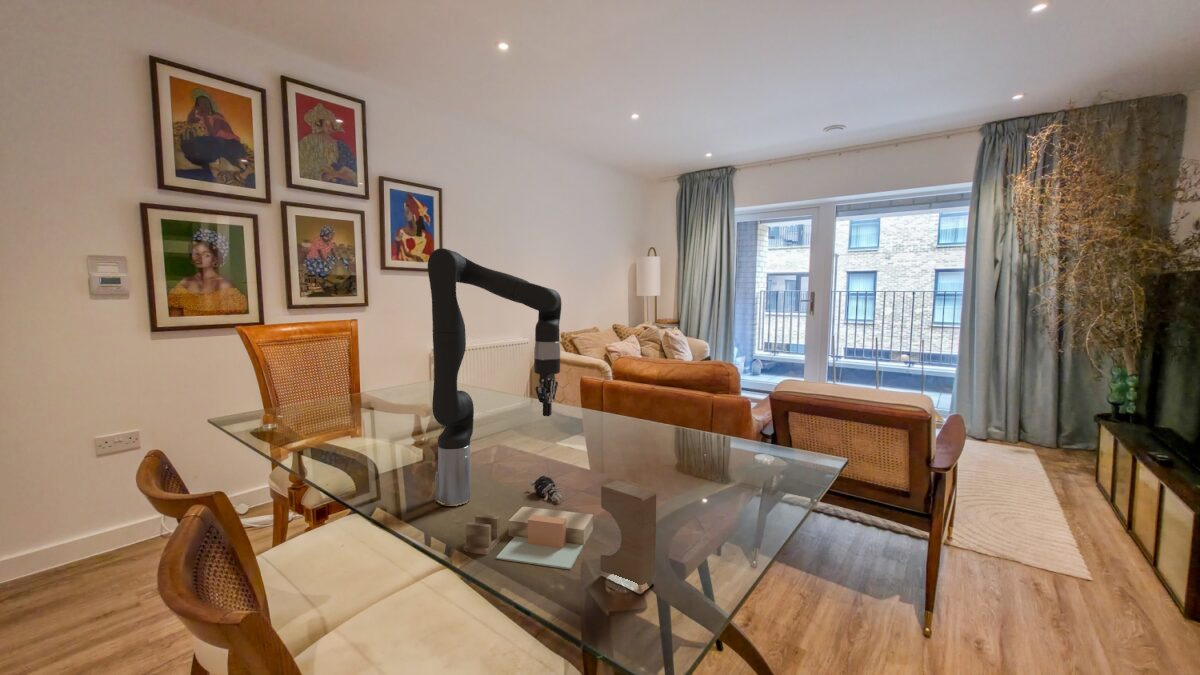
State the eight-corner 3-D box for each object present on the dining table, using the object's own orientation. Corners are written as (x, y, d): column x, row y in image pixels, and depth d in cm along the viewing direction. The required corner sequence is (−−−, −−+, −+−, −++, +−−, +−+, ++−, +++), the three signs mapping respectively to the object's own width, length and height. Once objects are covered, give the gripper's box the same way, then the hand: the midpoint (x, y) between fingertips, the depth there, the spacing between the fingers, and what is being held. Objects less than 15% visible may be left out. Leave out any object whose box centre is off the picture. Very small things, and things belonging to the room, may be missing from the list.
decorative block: (599, 576, 101) (599, 485, 100) (615, 565, 105) (616, 479, 104) (640, 597, 93) (641, 499, 92) (656, 585, 98) (657, 491, 97)
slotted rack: (463, 551, 110) (463, 526, 110) (479, 536, 118) (479, 512, 118) (486, 554, 109) (486, 529, 109) (501, 539, 117) (501, 514, 116)
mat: (496, 558, 107) (496, 557, 107) (515, 537, 117) (515, 536, 117) (570, 569, 103) (570, 567, 103) (583, 546, 113) (583, 545, 113)
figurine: (572, 499, 142) (547, 480, 153) (565, 483, 139) (540, 465, 151) (555, 513, 138) (530, 494, 150) (547, 497, 136) (523, 478, 147)
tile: (532, 537, 117) (527, 543, 114) (532, 514, 116) (527, 519, 113) (566, 542, 114) (562, 548, 112) (566, 518, 114) (562, 524, 111)
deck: (508, 535, 118) (508, 520, 118) (522, 520, 127) (522, 506, 127) (583, 545, 114) (583, 529, 114) (592, 529, 122) (593, 514, 122)
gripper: (543, 354, 142) (543, 410, 143) (526, 358, 129) (526, 419, 130) (566, 355, 140) (566, 412, 141) (551, 359, 128) (551, 421, 128)
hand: (547, 415), depth 136 cm, fingers closed
